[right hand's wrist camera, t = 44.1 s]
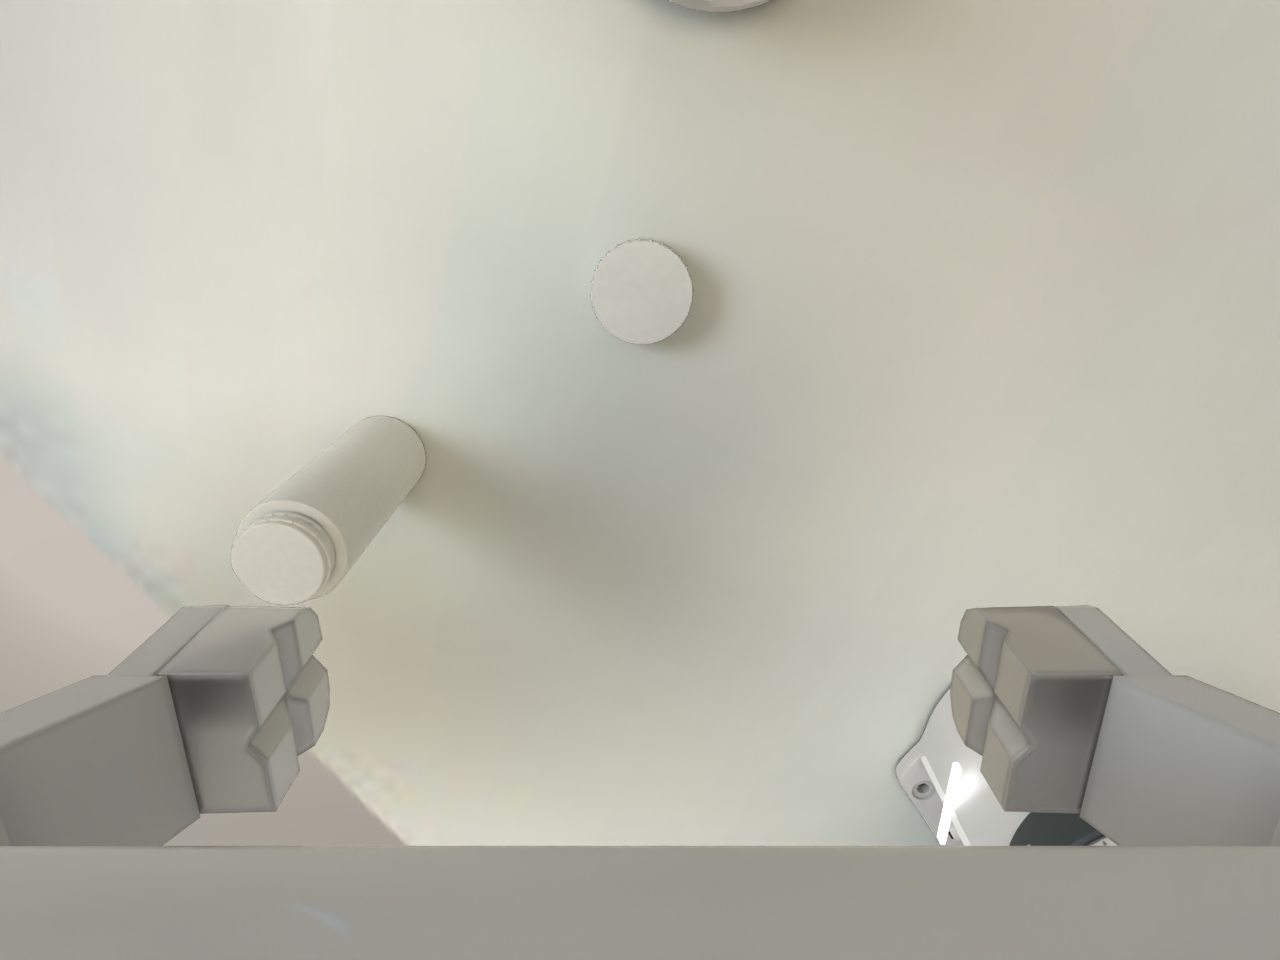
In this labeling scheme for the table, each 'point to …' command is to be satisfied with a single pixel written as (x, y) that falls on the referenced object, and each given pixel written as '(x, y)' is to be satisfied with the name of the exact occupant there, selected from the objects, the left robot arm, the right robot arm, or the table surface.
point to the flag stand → (718, 4)
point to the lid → (641, 291)
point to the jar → (327, 513)
